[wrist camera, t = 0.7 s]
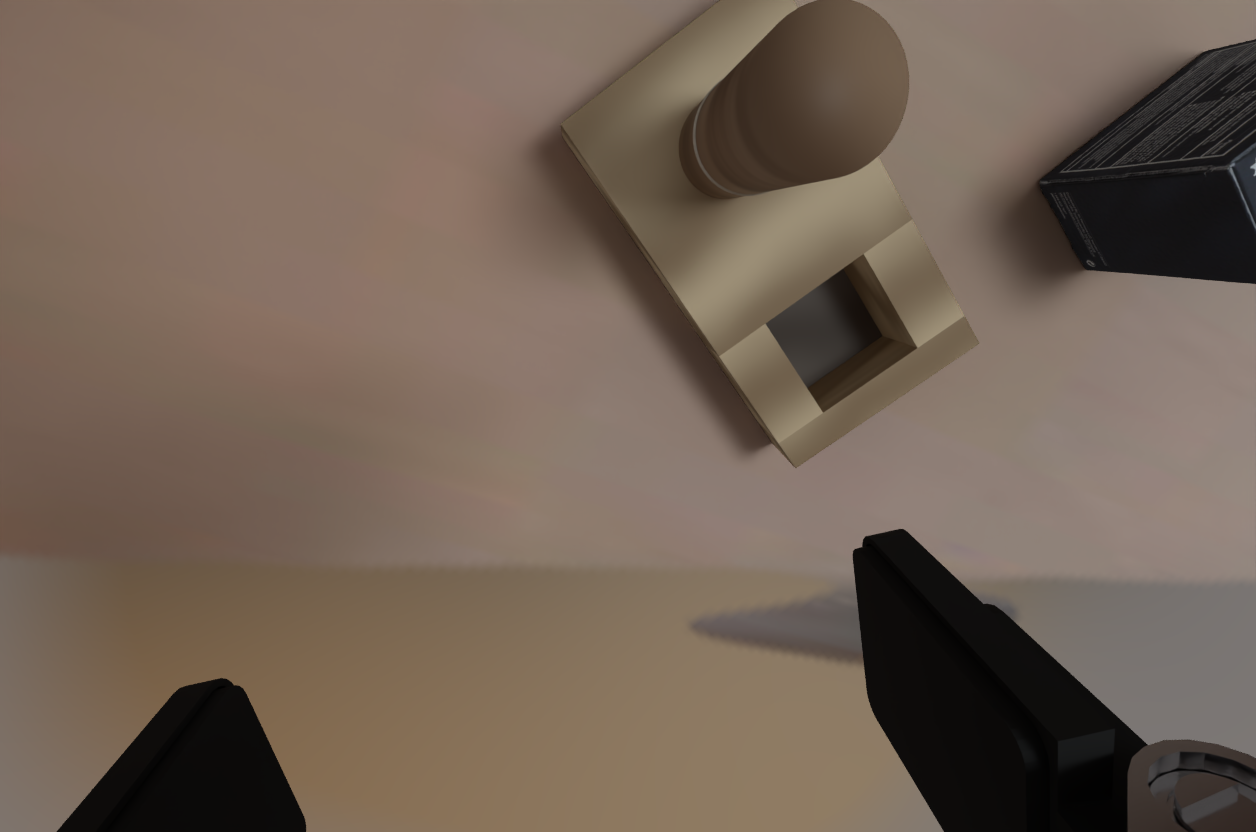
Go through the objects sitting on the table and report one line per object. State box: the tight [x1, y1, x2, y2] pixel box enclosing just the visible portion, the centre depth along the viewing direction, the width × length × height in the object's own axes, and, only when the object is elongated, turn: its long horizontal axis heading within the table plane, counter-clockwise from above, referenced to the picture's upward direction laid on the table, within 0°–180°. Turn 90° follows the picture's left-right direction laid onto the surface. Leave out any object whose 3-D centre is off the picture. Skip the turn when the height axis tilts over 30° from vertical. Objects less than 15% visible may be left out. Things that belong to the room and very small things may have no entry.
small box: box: [1040, 39, 1256, 284], centre depth 29 cm, size 11×6×10 cm, turn 129°
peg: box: [679, 0, 909, 199], centre depth 23 cm, size 4×4×12 cm
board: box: [561, 0, 979, 468], centre depth 32 cm, size 20×11×4 cm, turn 36°
